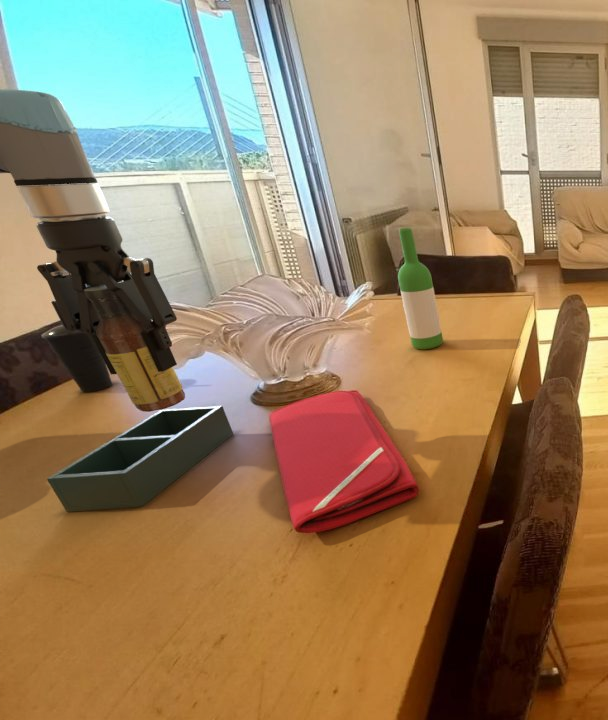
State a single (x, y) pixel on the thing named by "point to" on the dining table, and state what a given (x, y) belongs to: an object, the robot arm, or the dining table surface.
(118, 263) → the robot arm
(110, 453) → the dark green divided tray
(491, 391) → the dining table surface
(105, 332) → the sauce bottle
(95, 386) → the drinking cup
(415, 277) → the wine bottle
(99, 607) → the dining table surface
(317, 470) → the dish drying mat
